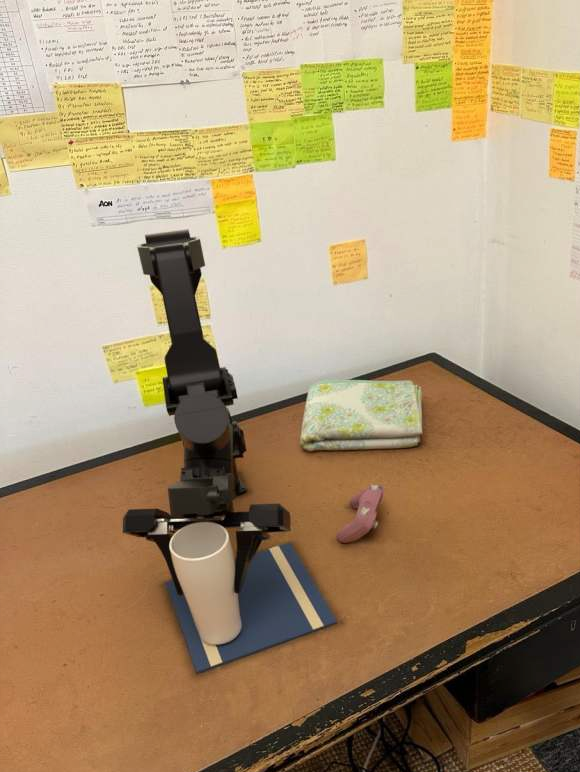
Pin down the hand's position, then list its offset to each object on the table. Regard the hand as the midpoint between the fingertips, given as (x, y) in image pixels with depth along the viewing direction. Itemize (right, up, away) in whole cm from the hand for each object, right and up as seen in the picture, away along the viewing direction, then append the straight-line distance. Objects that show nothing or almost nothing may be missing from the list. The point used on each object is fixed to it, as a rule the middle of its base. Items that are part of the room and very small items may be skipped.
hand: (208, 594), depth 87 cm
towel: (+17, +25, +47) cm, 56 cm away
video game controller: (+17, +7, +23) cm, 30 cm away
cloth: (+3, -2, +11) cm, 11 cm away
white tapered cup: (0, -5, +6) cm, 8 cm away
